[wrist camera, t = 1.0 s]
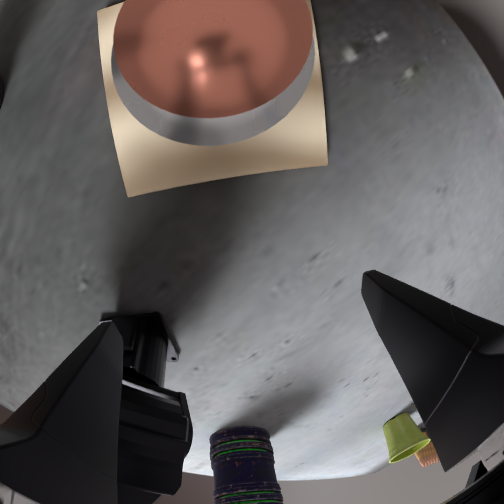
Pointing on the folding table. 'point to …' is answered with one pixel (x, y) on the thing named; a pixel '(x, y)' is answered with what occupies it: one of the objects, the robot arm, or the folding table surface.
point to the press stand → (210, 157)
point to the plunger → (212, 65)
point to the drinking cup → (1, 92)
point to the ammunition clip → (427, 452)
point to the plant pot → (403, 437)
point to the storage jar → (244, 467)
